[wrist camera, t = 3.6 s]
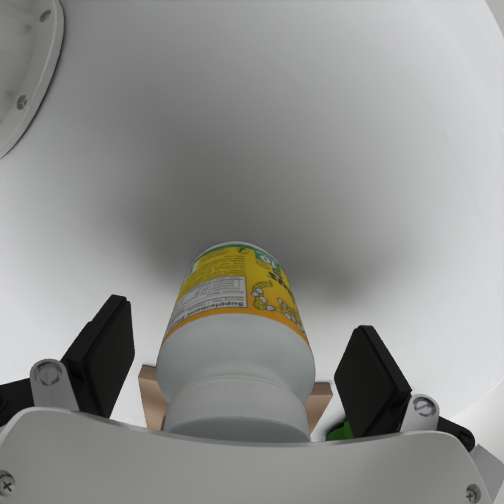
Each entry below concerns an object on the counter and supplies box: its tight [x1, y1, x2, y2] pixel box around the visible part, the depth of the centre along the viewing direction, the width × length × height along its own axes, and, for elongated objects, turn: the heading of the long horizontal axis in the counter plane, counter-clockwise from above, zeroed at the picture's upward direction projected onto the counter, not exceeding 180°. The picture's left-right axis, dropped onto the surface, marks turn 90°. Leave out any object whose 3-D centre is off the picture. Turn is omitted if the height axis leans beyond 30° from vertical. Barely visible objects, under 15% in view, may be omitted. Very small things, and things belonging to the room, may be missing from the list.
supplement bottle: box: [156, 241, 315, 443], centre depth 10 cm, size 5×5×10 cm
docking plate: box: [138, 365, 333, 434], centre depth 20 cm, size 18×13×1 cm
